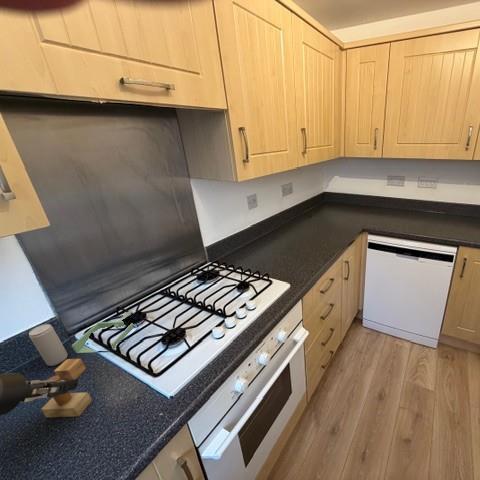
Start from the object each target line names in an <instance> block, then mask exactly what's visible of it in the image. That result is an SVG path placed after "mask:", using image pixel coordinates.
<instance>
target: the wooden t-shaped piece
mask: <svg viewBox="0 0 480 480" xmlns="http://www.w3.org/2000/svg"><path fill="white" fill-rule="evenodd" d="M47 380H55V381H61V378H60V377H59V376H57V375H53V376H51V377H49V378H48V379H47ZM44 384H45V385H47V384H46V383H44ZM92 401H93V399H92V397H91V396H90V393H89V392H70V390H69V391H68V393H65V394H60V395H57V396H52V397H51V398H50V399H49V400H48V401H47V402H46V403H45V404H44V405H43V407H41V408H40V411H41V412H42V413H43V415H44V416H45V418H73V417H80V416H81V415H82V413H83V412H84V411H85V410H86V409H87V407H89V405H90V404H91V403H92Z"/></svg>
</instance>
